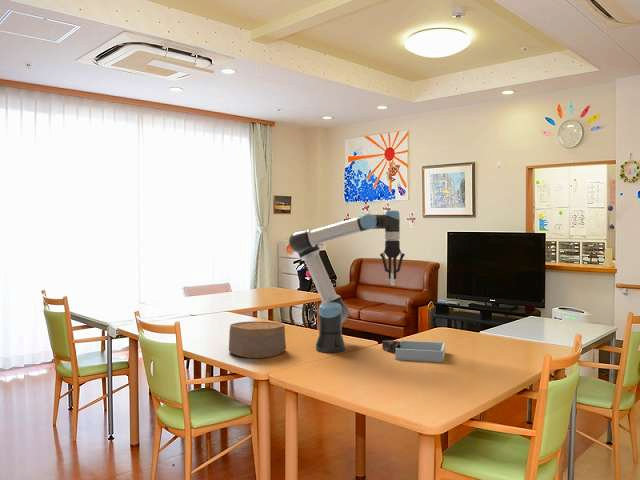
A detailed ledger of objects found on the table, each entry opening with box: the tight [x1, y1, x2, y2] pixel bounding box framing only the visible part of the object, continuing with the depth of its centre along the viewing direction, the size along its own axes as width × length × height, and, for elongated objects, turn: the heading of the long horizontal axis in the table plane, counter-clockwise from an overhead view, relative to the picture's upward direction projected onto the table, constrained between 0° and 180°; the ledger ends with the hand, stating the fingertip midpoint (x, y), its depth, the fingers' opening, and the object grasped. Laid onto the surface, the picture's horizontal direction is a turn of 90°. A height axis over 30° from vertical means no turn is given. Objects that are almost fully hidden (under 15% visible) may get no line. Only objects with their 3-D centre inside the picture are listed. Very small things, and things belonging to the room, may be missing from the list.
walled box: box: [394, 339, 446, 363], centre depth 264 cm, size 22×20×5 cm
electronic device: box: [381, 339, 401, 353], centre depth 276 cm, size 4×10×8 cm
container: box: [228, 321, 287, 359], centre depth 272 cm, size 28×28×15 cm
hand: (392, 285), depth 283 cm, fingers closed
